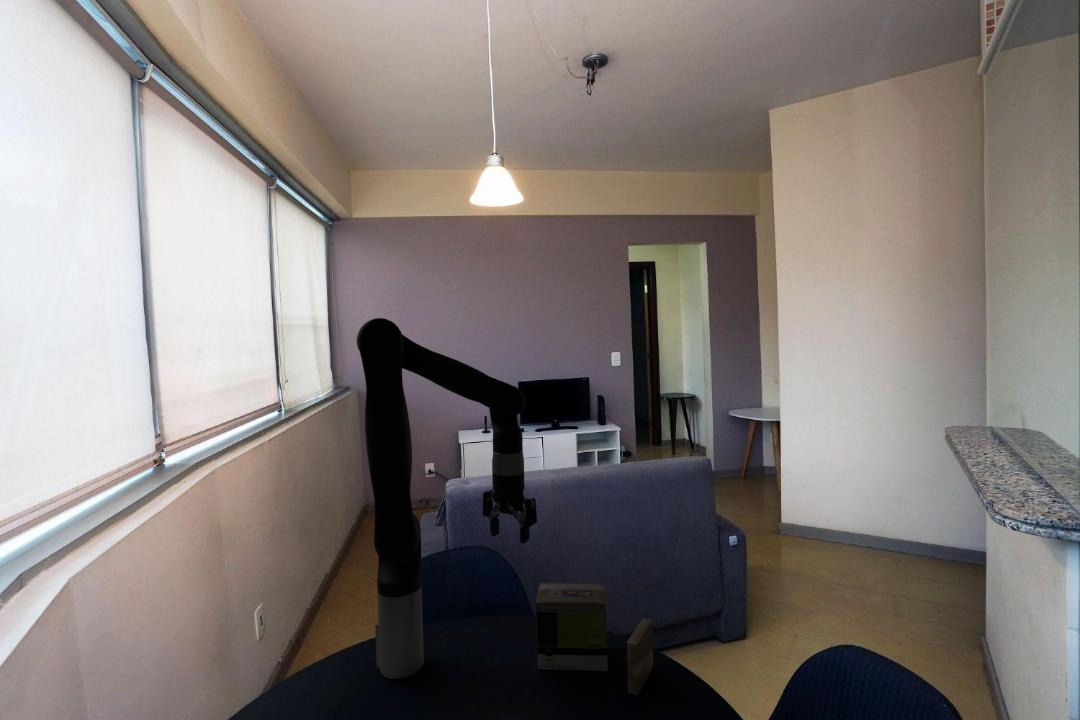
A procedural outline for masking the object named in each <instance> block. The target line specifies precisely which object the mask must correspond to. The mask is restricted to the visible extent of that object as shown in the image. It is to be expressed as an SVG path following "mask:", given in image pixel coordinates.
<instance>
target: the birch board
mask: <svg viewBox="0 0 1080 720" xmlns="http://www.w3.org/2000/svg"><path fill="white" fill-rule="evenodd" d="M653 639H654V638H653V620H652V619H647V618H642V619H641V620H640V622H639V624H638V625H637V626H636V628H635V629H634V631H633V632H632V634H631V635H630V637H629V638H628V640H627V641H626V660H627V661H626V663H627V665H626V666H627V692H628V693H629V694H631V695H634V696H639V694H640V692H641V690H642V689H643V686H644V685H645V683H646V681H647V679H648V677H649V675H650V673H651V672H652V670H653V668H654V646H653V645H654V644H653V643H654V641H653Z"/></svg>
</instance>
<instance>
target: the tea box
mask: <svg viewBox="0 0 1080 720" xmlns="http://www.w3.org/2000/svg"><path fill="white" fill-rule="evenodd" d="M605 594H606V593H605V583H603V582H539V586H538V590H537V596H536V600H535V622H536V623H535V625H536V626H535V627H536V652H537V669H538V670H547V671H548V670H549V671H553V670H554V671H580V672H581V671H584V672H585V671H586V672H608V671H609V660H608V655H609V654H608V633H607V632H608V631H607V629H608V628H607V611H606V610H607V609H606V607H607V606H606V595H605Z"/></svg>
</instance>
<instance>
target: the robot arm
mask: <svg viewBox="0 0 1080 720" xmlns="http://www.w3.org/2000/svg"><path fill="white" fill-rule="evenodd" d="M356 346H357V350H358V351H359V354H360V359H361V363H362V364H361V365H362V367H363V374H364V381H365V390H366V391H365V407H364V434H365V435H364V436H365V445H366V447H365V448H366V456H367V461H368V462H367V463H368V468H369V476H370V481H371V487H372V493H373V498H374V499H373V501H374V529H373V530H374V533H373V534H374V536H373V546H374V550H375V552H376V554H377V557H378V558H377V559H378V562H377V563H378V566H377V576H376V577H377V578H376V587H377V589H376V590H377V612H378V614H377V615H378V617H377V619H378V620H377V622H376V623H375V627H374V628H375V629H374V630H375V654H376V655H375V657H376V668H378V669H379V673H380V675H381V676H383V677H384V678H386V679H390V680H392V679H393V680H399V679H400V680H401V679H405V678H408V677H410V676H413V675H415V674H416V673H418V672H419V671H420V670H421V669H422V668H423V666H424V663H425V662H424V659H425V658H424V627H423V626H424V624H423V623H424V621H423V619H424V618H423V593H422V592H423V589H422V587H423V586H422V567H423V566H422V564H423V563H422V561H423V560H422V559H423V558H422V529H421V522H420V521H419V519H418V517H417V516H416V515H415V514H414V512H413V511H414V510H413V507H412V497H411V486H412V485H411V483H412V471H413V467H412V466H413V446H412V445H413V444H412V431H411V426H410V418H409V417H410V416H409V410H408V404H407V399H406V395H405V391H404V384H403V370H406V371H408V372H411V373H413V374H416V375H417V376H420V377H422V378H424V379H426V380H428V381H429V382H431V383H434V384H435V385H438V386H439V387H440V388H443V389H445V390H447V391H449V392H451V393H453V394H456V395H458V396H460V397H462V398H465V399H467V400H469V401H473V402H476V403H479V404H480V405H483V406H485V407H486V408H488V410H489V415H490V422H491V424H490V425H491V428H492V456H491V457H492V458H491V459H492V460H491V469H492V470H491V472H492V473H491V474H492V475H491V476H492V477H491V481H492V483H491V484H492V489H489V490H486V491H484V492H483V493H482V516H483V517H487V518H488V520H489V532H490V534H491V536H492V537H496V536H498V535H499V534H500V518H499V516H500V515H501V514H504V515H505V514H507V515H509V516H513V518H514V520H515V521H517V522H518V524H519V526H520V528H519V543H520V544H526V543H527V542H528V541H529V540H530V538H531V537H530V528H531V527H532V526H533V525H536V524H537V523H538V517H537V516H538V515H537V502H536V501H537V500H536V498H535V497H531V498H527V497H525V495H524V492H525V458H524V457H525V455H524V451H523V449H524V445H523V444H524V442H523V440H524V439H523V432H522V431H523V429H522V428H521V427H520V425H519V422H518V415H519V414H521V413H522V412H523V411H524V409H525V408H526V407H525V406H526V396H525V395H524V392H522V391H523V390H521V389H519V387H516V386H515V385H512V384H509V383H508V382H505V381H502V380H501V379H497V378H495V377H491V376H490V375H488V374H486V373H484V372H483V371H481V370H479V369H477V368H475V367H473V366H471V365H469V364H467V363H465V362H462V361H460V360H457V359H455V358H453V357H449V356H447V355H444V354H441V353H438V352H436V351H433V350H431V349H429V348H427V347H425V346H422V345H420V344H418V343H416V342H415V341H413V340H412V339H410V338H409V337H407V336H405V335H404V334H403V333H402V331H401V330H400V327H399V326H398V325H397V324H396V323H395V322H393V321H392V320H389V319H387V318H383V317H375V318H372V319H370V320H367V322H365V323H364V324H363V325H361V327H360V328H359V330H358V332H357V335H356ZM494 503H495V505H494ZM519 512H520V513H519Z"/></svg>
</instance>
